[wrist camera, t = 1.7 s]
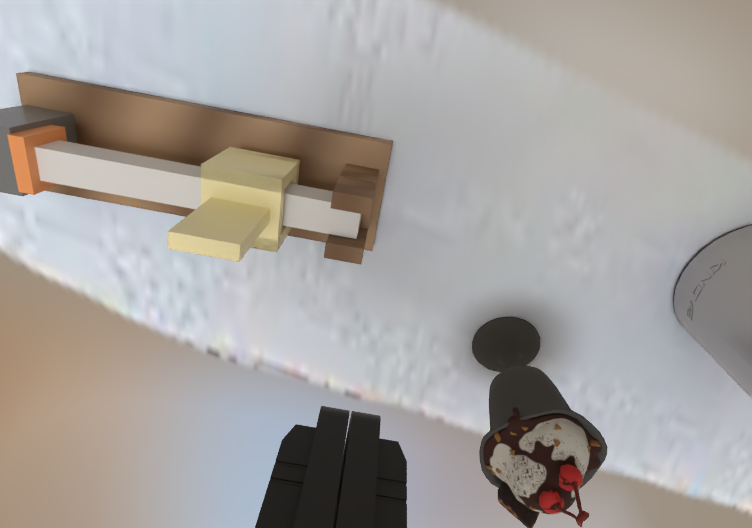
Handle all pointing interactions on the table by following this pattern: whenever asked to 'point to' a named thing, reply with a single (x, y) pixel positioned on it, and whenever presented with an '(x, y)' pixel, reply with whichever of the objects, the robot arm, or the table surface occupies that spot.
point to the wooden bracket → (221, 148)
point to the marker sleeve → (237, 205)
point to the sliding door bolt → (129, 172)
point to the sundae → (532, 429)
